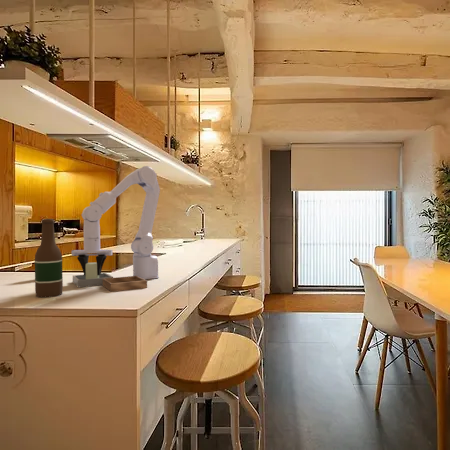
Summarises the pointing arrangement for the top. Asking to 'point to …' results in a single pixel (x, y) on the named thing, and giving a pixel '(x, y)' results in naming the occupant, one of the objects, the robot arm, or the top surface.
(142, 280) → the walnut bin
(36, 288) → the beer bottle
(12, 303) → the top surface
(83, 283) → the grey bin
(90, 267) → the sage block
